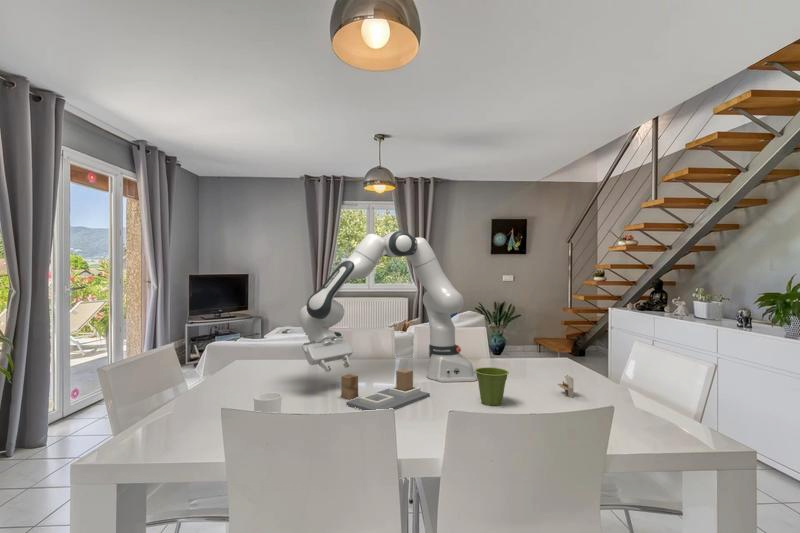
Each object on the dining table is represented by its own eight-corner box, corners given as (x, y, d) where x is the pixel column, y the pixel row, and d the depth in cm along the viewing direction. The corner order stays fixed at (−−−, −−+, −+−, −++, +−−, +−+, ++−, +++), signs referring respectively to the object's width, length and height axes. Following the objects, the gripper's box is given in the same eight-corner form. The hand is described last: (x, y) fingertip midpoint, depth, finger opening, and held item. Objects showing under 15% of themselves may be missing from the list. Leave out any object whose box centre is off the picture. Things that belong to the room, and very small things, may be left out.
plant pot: (502, 410, 140) (502, 376, 140) (469, 404, 146) (469, 372, 146) (513, 401, 150) (513, 369, 150) (482, 396, 156) (481, 365, 156)
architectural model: (564, 398, 153) (564, 378, 153) (557, 393, 160) (557, 374, 160) (573, 398, 153) (573, 378, 153) (566, 393, 160) (566, 373, 160)
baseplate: (397, 388, 166) (397, 365, 166) (429, 396, 156) (429, 371, 156) (346, 405, 146) (346, 378, 146) (379, 415, 135) (379, 387, 135)
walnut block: (350, 395, 158) (350, 373, 158) (358, 397, 155) (358, 375, 155) (341, 397, 155) (341, 376, 155) (349, 400, 152) (349, 378, 152)
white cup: (273, 436, 119) (273, 400, 119) (248, 434, 120) (248, 399, 120) (286, 426, 126) (286, 392, 127) (262, 424, 128) (262, 391, 128)
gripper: (303, 338, 157) (320, 368, 150) (345, 332, 172) (361, 359, 165) (296, 349, 159) (312, 378, 153) (338, 342, 175) (354, 369, 168)
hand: (338, 368), depth 159 cm, fingers open, 8 cm apart
